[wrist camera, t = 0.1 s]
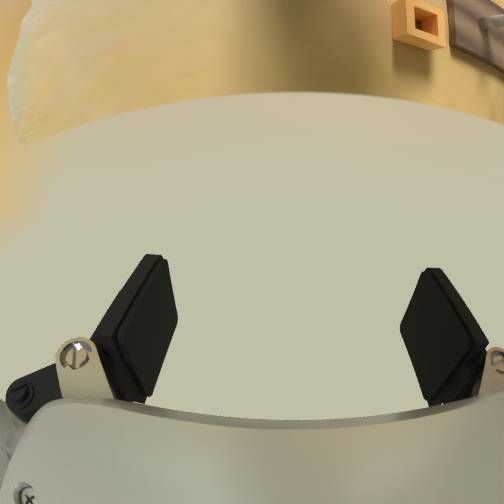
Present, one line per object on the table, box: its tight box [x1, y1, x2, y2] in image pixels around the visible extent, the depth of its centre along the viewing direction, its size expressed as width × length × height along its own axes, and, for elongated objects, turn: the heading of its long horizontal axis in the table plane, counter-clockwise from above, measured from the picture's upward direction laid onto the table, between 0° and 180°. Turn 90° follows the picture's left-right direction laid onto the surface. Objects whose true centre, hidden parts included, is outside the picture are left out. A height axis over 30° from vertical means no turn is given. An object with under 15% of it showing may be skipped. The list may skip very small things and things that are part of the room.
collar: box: [391, 0, 446, 51], centre depth 23 cm, size 6×6×5 cm
